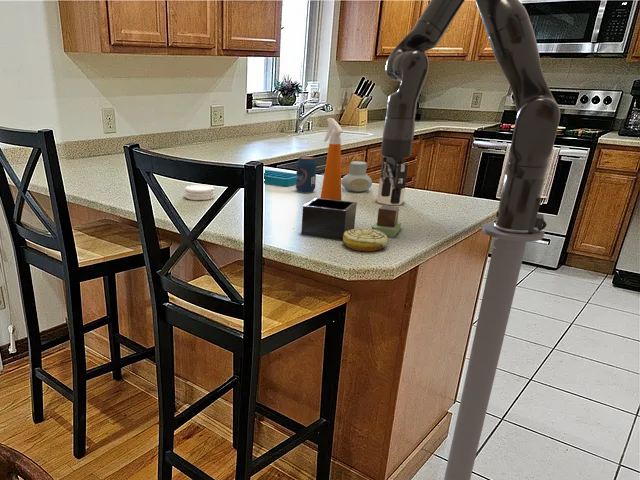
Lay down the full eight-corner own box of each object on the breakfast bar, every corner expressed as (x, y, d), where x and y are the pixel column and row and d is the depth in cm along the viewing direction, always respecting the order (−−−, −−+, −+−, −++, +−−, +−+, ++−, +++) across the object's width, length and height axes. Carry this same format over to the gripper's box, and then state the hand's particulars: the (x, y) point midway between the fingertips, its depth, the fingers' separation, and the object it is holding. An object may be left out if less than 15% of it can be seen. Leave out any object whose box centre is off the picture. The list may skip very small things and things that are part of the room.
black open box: (354, 230, 144) (356, 202, 141) (343, 240, 136) (346, 210, 133) (314, 224, 149) (315, 197, 146) (301, 234, 140) (302, 205, 137)
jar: (371, 201, 176) (375, 165, 171) (387, 198, 180) (391, 162, 175) (392, 206, 169) (397, 169, 164) (408, 203, 173) (414, 166, 168)
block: (397, 223, 144) (399, 206, 142) (393, 227, 140) (396, 210, 138) (380, 221, 145) (382, 205, 144) (376, 225, 142) (378, 208, 140)
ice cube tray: (286, 187, 195) (287, 179, 194) (244, 180, 207) (244, 173, 206) (303, 182, 204) (303, 174, 203) (261, 176, 215) (261, 168, 214)
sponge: (378, 226, 148) (379, 219, 148) (400, 228, 146) (401, 221, 145) (371, 234, 141) (372, 227, 140) (393, 237, 139) (394, 230, 138)
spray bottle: (330, 197, 181) (336, 116, 171) (345, 204, 172) (352, 119, 161) (311, 198, 179) (316, 117, 169) (325, 205, 170) (331, 120, 159)
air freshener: (367, 188, 195) (370, 160, 191) (373, 192, 188) (376, 164, 184) (338, 188, 195) (341, 160, 191) (343, 192, 187) (346, 164, 183)
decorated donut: (393, 251, 128) (395, 236, 126) (352, 254, 126) (354, 239, 124) (375, 238, 137) (376, 225, 135) (336, 241, 135) (337, 227, 133)
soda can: (291, 191, 190) (293, 157, 185) (304, 188, 194) (306, 155, 189) (306, 194, 185) (308, 159, 180) (318, 191, 189) (321, 157, 184)
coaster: (216, 199, 176) (216, 189, 175) (187, 201, 174) (187, 191, 173) (211, 193, 185) (210, 183, 184) (183, 195, 183) (182, 184, 182)
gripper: (422, 140, 127) (412, 206, 133) (403, 133, 140) (395, 193, 146) (391, 140, 126) (383, 206, 133) (375, 133, 139) (369, 193, 146)
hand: (389, 199), depth 140 cm, fingers open, 8 cm apart
